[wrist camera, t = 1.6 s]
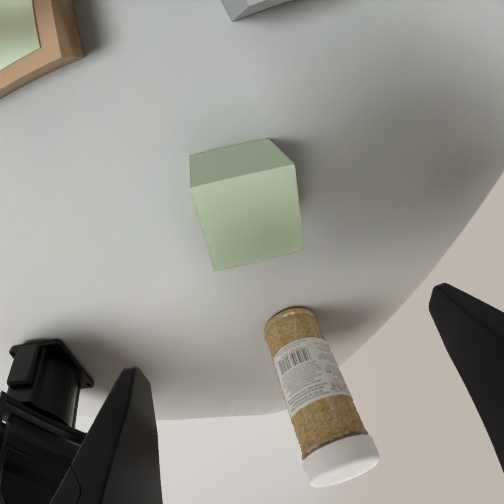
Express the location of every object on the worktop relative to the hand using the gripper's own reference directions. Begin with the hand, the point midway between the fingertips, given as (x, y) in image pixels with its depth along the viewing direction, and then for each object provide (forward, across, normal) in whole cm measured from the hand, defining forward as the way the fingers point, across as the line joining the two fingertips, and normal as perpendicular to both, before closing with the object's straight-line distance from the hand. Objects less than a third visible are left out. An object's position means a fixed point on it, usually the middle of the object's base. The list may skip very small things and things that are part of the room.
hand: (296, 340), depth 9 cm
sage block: (+12, 0, 0) cm, 12 cm away
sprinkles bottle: (+12, -2, +13) cm, 18 cm away
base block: (+12, +10, -13) cm, 20 cm away
